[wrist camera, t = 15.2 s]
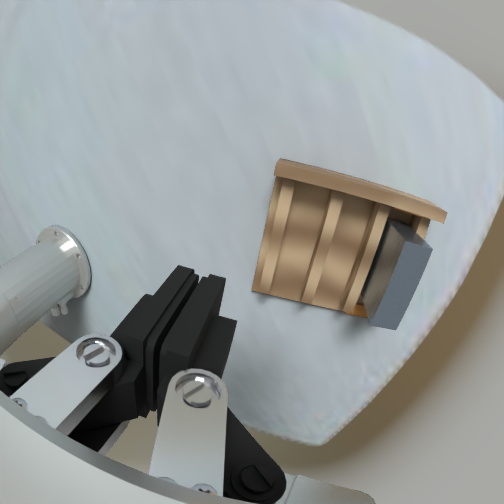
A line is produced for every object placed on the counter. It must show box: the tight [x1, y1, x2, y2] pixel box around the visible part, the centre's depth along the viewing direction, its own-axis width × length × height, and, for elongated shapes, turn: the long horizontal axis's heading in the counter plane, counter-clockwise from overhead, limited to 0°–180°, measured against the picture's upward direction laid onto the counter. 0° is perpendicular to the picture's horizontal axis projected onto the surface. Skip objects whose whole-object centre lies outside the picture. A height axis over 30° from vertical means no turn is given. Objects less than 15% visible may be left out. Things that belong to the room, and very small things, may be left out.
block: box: [361, 217, 433, 330], centre depth 28 cm, size 9×3×8 cm, turn 169°
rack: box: [252, 158, 447, 318], centre depth 31 cm, size 16×18×5 cm
